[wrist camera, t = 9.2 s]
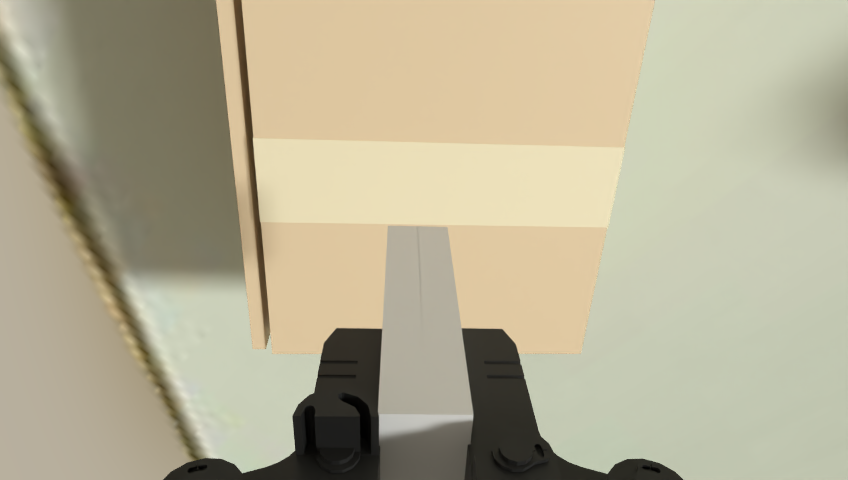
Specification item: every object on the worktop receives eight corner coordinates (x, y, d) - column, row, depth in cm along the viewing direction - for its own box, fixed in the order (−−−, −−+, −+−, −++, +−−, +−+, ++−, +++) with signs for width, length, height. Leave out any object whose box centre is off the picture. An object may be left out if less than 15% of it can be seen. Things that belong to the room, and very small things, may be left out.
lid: (222, -64, 19) (206, -62, 17) (639, -44, 19) (664, -40, 18) (260, 324, 25) (251, 354, 24) (568, 325, 26) (581, 354, 25)
